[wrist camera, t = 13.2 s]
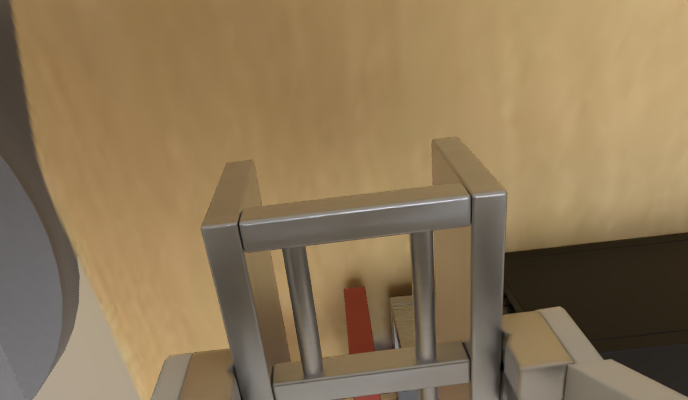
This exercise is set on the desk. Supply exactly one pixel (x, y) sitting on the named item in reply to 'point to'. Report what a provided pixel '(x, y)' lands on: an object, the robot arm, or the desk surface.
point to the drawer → (400, 323)
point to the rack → (352, 224)
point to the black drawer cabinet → (615, 299)
